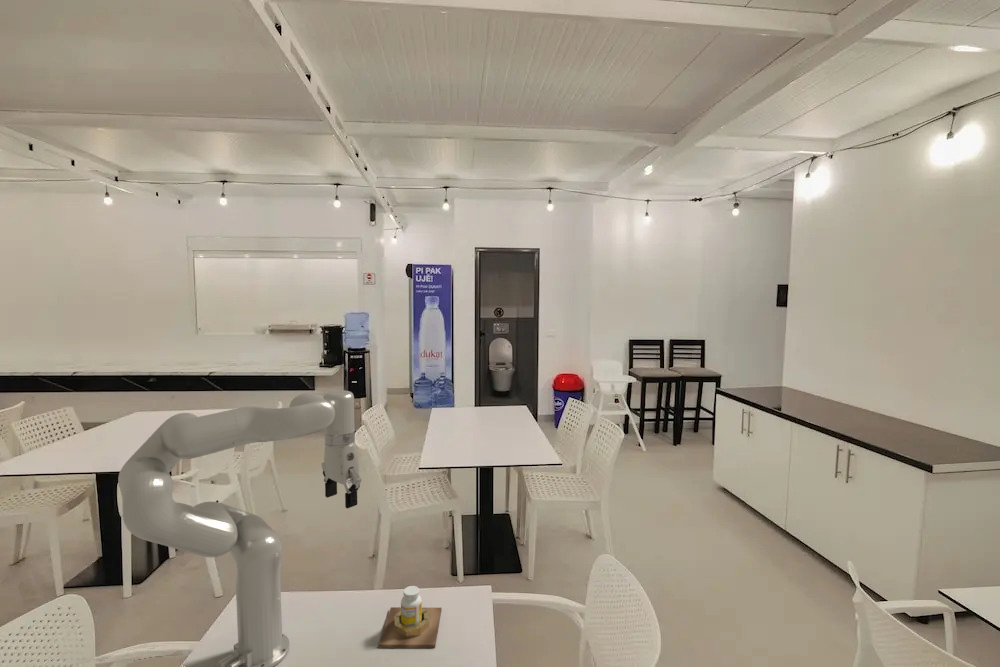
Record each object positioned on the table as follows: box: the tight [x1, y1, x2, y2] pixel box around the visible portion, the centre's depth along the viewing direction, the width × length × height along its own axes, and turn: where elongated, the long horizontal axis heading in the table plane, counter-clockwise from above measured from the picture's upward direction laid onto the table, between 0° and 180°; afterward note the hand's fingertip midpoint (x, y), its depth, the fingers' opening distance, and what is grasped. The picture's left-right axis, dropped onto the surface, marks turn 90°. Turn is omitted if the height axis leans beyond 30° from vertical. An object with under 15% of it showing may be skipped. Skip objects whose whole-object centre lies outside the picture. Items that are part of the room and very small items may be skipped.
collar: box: [394, 607, 429, 638], centre depth 126 cm, size 9×9×2 cm
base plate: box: [378, 606, 443, 649], centre depth 126 cm, size 14×14×1 cm
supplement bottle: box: [400, 585, 423, 627], centre depth 125 cm, size 5×5×10 cm
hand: (341, 501), depth 128 cm, fingers open, 9 cm apart
